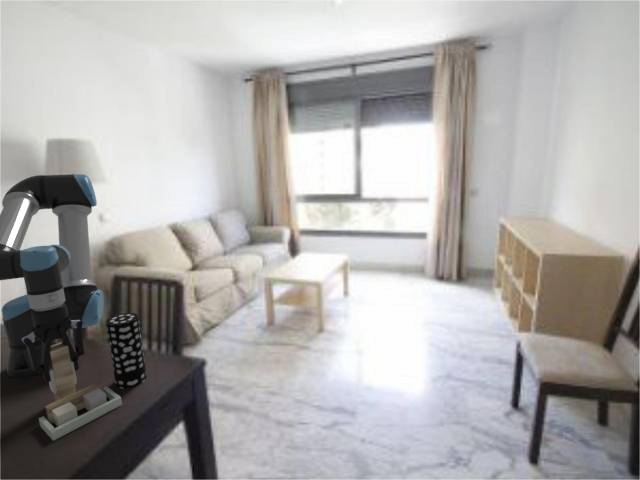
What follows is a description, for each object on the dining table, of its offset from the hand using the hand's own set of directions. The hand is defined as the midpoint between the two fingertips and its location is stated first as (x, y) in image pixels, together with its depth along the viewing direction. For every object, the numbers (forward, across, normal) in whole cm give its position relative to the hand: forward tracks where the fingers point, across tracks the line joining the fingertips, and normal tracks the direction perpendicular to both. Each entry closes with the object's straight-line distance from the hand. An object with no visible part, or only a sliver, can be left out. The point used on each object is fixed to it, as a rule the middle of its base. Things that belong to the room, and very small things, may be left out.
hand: (63, 386), depth 100 cm
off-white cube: (+5, -4, -10) cm, 11 cm away
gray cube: (+5, +4, -10) cm, 11 cm away
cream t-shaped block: (+4, 0, -3) cm, 5 cm away
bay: (+5, 0, -10) cm, 11 cm away
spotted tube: (+5, +15, -5) cm, 17 cm away
